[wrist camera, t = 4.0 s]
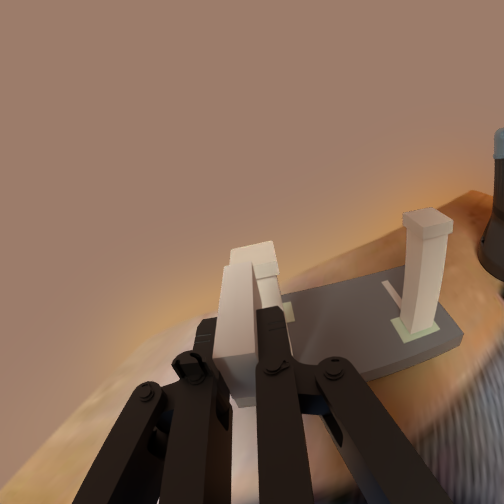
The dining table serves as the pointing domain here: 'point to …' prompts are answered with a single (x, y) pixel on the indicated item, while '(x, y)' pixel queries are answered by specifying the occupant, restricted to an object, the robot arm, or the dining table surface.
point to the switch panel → (362, 327)
